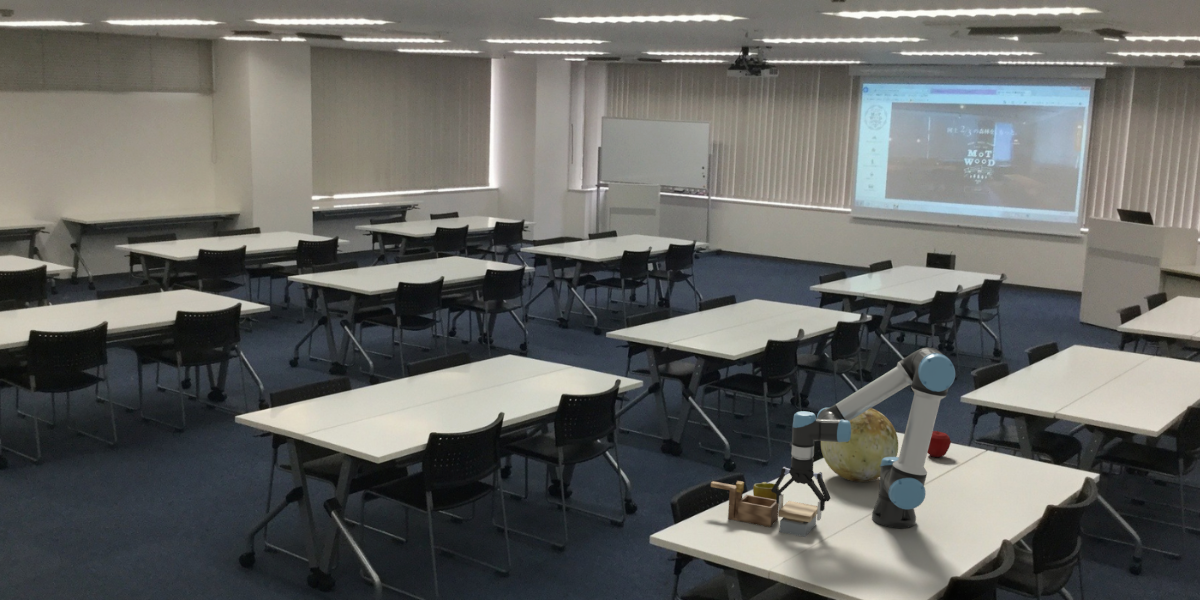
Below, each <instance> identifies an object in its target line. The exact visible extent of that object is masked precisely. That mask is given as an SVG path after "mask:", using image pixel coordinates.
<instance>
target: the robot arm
mask: <svg viewBox="0 0 1200 600" xmlns="http://www.w3.org/2000/svg"><path fill="white" fill-rule="evenodd" d="M955 378H956V370H955V366H954V364H953V362H952V361H951V359H950V358H949V357H948V356H946V355H944V354H943V353H942V352H941V351H940V350H938V349H936V348H935V347H922V348H920V349H918V350H915V351H914V352H912V353H910V354H909V355H908V356H905V357H903V359H901V360H899V361H898V362H897V364H896V366H895V367H893V368H892V369H891V370H888V371H887V372H886V373H884V374H883V375H881V376H879V377H877V378H875V380H873V381H871V382H869V383H868V384H866V385H864V386H862V388H860V389H858V390H856V391H855V392H853V393H852V394H849V395H848V396H847V397H845V398H843V399H842V400H840V401H839V402H837V403H835V404H834V405H832V406H830V407H824V408H821V409H820V410H819V411H818V413H817V415H816V414H815V413H814V412H812V411H811V412H810V411H804V410H803V411H797V412H795V413H794V415H793V420H792V437H791V453H790V454H791V459H790V461H791V462H790V468H787V467H786V466H783V467H782V468H781V469H780V470H781V471H780V475H779V477H778V478H777V479H776V482H775V483H774V484H775V485H774V487H773V488H772V490H771V491H772V492H774V493H776V495H777V496H776V503H778V504H779V508H778V511H779V510H780V509H781V508H782V507H783V506H784V493H783V492H784V491H785V490H786V489H787V488H788V487H789V486H790V485H791V484H792V483H793V482H795V483H796V484H803V485H805V484H807V486H808V487H809V488H810V489H811V491H812V492H813V494H814V495H815V496H816V498H817V499H818V501H817V506H818V510H817V515H816V521H820V520H822V512H824V511H825V509H826V506H825V505H826V502H829V501H830V500H831V499H832V498H831V495H830V492H829V490H828V488H827V486H826V483H825V481H824V479H823V472H821V471H820V472H814V461H815V460H814V459H815V458H814V455H815V442H821V441H830V442H848V441H849V440H850V438H851V424H850V420H852V419H854V418H855V417H857V416H858V415H860V414H862V413H863V412H865V411H867V410H868V409H870V408H872V409H873V407H875V406H876V405H878V404H880V403H882V402H883V401H884V400H886V399H888V398H890V397H891V396H893V395H895V394H896V393H898V392H899V391H901V390H903V389H904V388H906V387H908V386H911V389H912V391H913V393H914V395H913V399H912V403H911V406H910V411H909V415H908V419H907V423H906V427H905V431H904V436H903V439H902V443H901V447H900V451H899V456H897V457H885V458H883V459H882V461H881V465H880V467H881V470H880V477H879V485H878V487H879V488H878V498H877V500H876V502H875V505H874V507H873V508H872V509H873V510H872V514H871V519H872V521H873V522H874V523H877V524H878V525H881V526H884V527H889V528H894V529H906V528H907V529H909V528H912V527H914V526H916V524H917V516H916V513H915V509H916V508H918V507H919V506H920V505H922V504H923V503H924V501H925V499H926V495H927V494H926V487H925V483H926V478H927V475H928V471H927V469H926V468H925V465H926V463H925V462H926V459H927V455H928V453H927V452H928V448H929V444H930V440H931V436H932V432H933V431H934V427H935V424H936V418H937V416H938V415H937V414H938V411H939V406H940V404H941V400H943V399H944V398H946V397H947V394H948V391H949V388H950V387H951V386H952V384H953V383H954V382H955ZM787 474H790V477H791V478H790V479H788V480H787V482H786V483H785V484H783V486H781V487H780V485H781V483H782V481H783V480H784V478H785V476H787ZM813 478H815V479H816V480H817V484H818V486H819V487H818V486H817V485H816V483H815V481H814V480H813ZM778 486H779V490H778V489H777V488H778ZM819 488H820V489H819ZM778 515H779V512H778Z"/></svg>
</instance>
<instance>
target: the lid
mask: <svg viewBox="0 0 1200 600" xmlns="http://www.w3.org/2000/svg"><path fill="white" fill-rule="evenodd" d="M817 510H818V505H813V504H808V503H803V502H797V501H792V500H787V502H786V503H784V504H783V507H782V508H781V509H780V510H779V509H778V513H779V514H778V518H779V517H780V518H783V517H784V518H787V520H791V521H796V522H802V523H803V521H805V522H811V521H812V519H813V518H814V517H815V516H816V517H817Z"/></svg>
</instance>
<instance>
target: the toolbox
mask: <svg viewBox="0 0 1200 600" xmlns="http://www.w3.org/2000/svg"><path fill="white" fill-rule="evenodd" d="M738 481H740V482H742V481H741V480H736V482H735V484H736V483H737V482H738ZM728 491H729V493H728V494H729V496H728V513H727V514H728V515H727V519H728V520H732V521H737V522H741V523H746V524H751V525H756V524H757V525H758V526H761V525H763V526H762V527H766V526H768V528H771V527H773V525H774V524H775V523H776V522H777V521H778V520H779V516H778V515H779V514H778V513H779V504H778V503H776V500H774V499H768V498H763V497H757V496H754V495H752V494H751V495H750V494H745V495H744V496H743V491H744V490H743V491H742V492H741V493H740V492H737V487H733V486H731V487H730V490H728Z"/></svg>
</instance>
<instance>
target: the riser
mask: <svg viewBox="0 0 1200 600" xmlns="http://www.w3.org/2000/svg"><path fill="white" fill-rule="evenodd" d="M816 523H817V515H816V516H815V517H814V518H813V519H812V521H811V522H805V521H803V523H802V522H796V521H791V520H787V518H784V517H781V519H780V520H779V532H780V533H784V534H789V535H794V536H799V537H804V538H806V537H807V535H808V534H809V533H810V532H811V531H812V529H813V528H814V527H815V526H816V525H817V524H816Z"/></svg>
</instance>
